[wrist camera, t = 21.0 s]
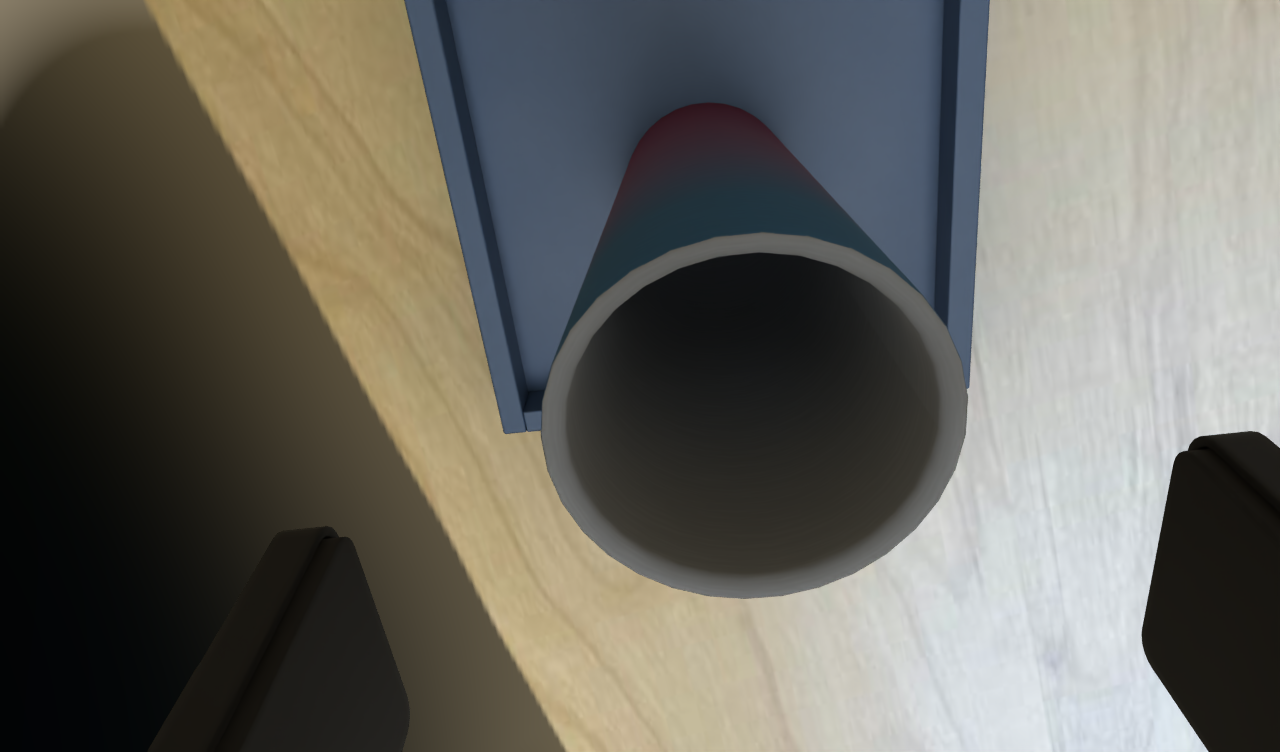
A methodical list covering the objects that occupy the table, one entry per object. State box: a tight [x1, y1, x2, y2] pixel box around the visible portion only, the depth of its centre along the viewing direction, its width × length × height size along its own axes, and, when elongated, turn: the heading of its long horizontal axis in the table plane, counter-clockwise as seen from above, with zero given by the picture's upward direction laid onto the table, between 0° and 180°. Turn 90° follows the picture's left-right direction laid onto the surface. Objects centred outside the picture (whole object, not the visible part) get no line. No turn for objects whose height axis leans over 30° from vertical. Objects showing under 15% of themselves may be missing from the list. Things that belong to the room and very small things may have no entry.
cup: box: [541, 102, 968, 599], centre depth 21 cm, size 7×7×15 cm
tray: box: [404, 0, 990, 434], centre depth 27 cm, size 16×16×2 cm
